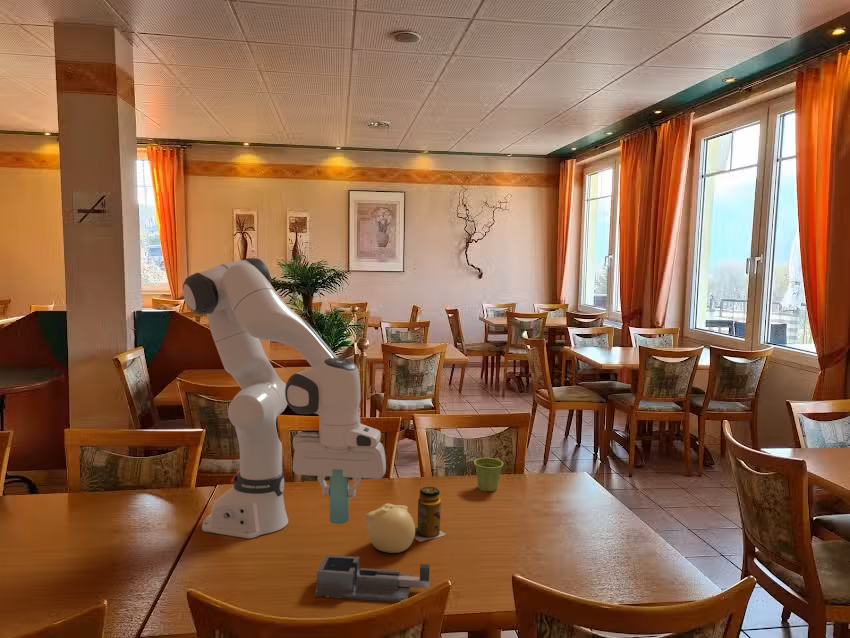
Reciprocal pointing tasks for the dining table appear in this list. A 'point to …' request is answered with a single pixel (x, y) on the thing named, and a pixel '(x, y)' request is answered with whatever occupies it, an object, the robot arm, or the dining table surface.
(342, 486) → the peg
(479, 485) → the plant pot
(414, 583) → the pin
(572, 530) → the dining table surface
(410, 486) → the dining table surface
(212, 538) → the dining table surface
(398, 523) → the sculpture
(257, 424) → the robot arm
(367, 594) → the mount
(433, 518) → the condiment
